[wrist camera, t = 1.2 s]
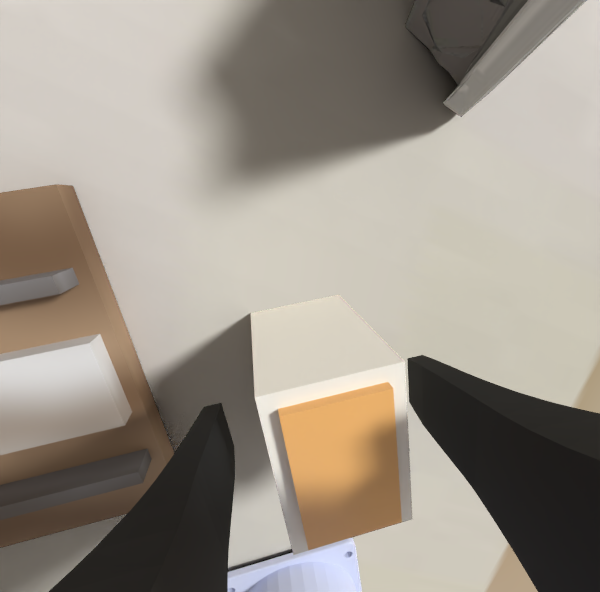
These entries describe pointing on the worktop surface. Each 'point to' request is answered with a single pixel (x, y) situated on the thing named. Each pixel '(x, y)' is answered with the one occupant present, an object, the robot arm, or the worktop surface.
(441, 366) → the robot arm
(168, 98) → the worktop surface
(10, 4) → the worktop surface
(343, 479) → the rail module
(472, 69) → the electrical switch
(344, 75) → the worktop surface
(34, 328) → the mounting board
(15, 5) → the worktop surface
